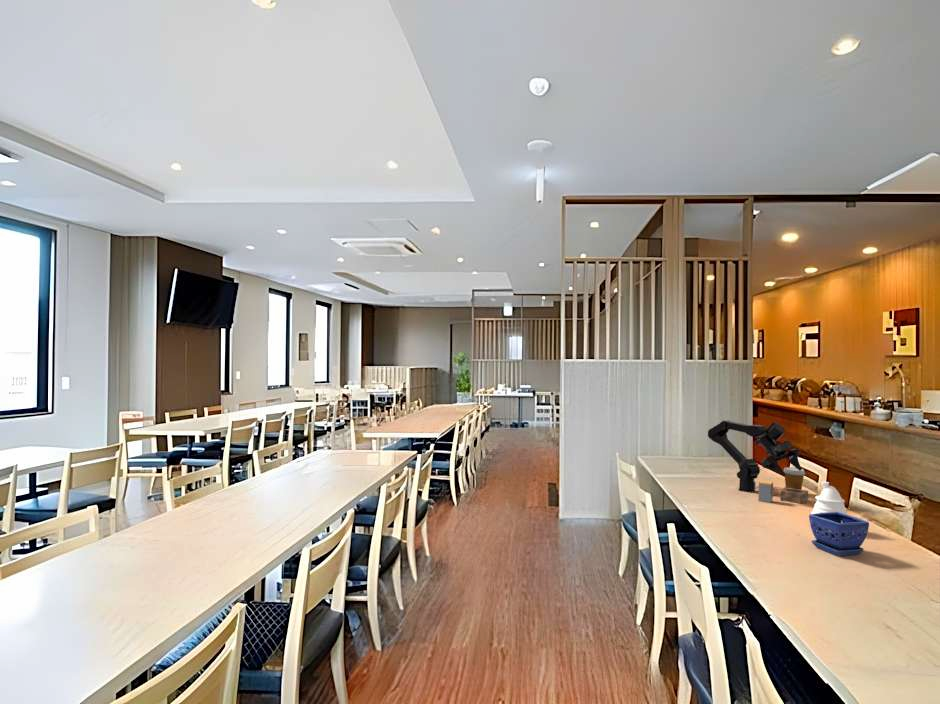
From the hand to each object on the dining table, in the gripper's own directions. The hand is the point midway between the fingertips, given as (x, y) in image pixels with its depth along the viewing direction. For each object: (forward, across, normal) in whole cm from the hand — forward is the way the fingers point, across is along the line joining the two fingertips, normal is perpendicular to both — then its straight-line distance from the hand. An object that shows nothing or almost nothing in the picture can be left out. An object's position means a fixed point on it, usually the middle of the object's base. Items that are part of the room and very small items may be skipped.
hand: (792, 472), depth 277 cm
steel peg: (+4, -14, +11) cm, 18 cm away
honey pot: (+34, -20, -18) cm, 43 cm away
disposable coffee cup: (0, +12, +23) cm, 26 cm away
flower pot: (+48, -40, -37) cm, 73 cm away
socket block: (+8, +1, +13) cm, 15 cm away
